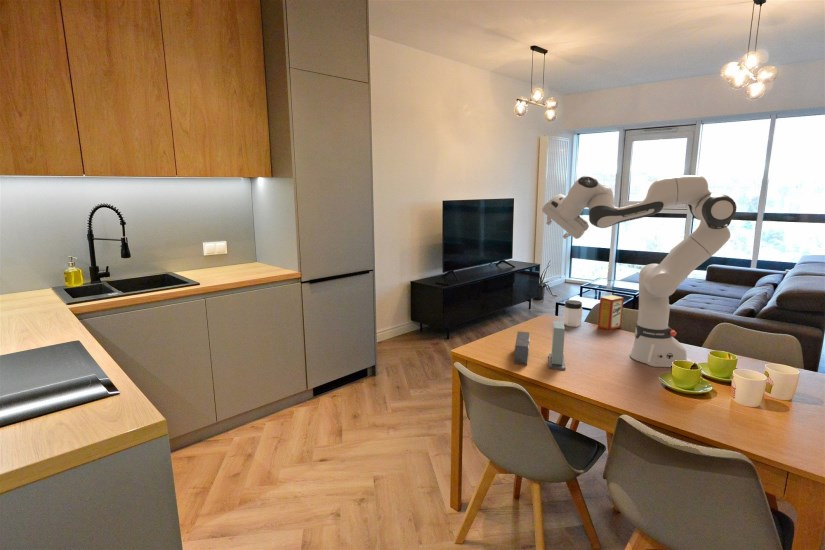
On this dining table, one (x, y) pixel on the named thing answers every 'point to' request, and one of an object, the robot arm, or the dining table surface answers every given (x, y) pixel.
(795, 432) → the dining table surface
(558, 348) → the block
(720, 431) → the dining table surface
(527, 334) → the block
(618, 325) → the baking soda box
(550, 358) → the rail
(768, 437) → the dining table surface
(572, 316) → the jar
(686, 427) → the dining table surface
